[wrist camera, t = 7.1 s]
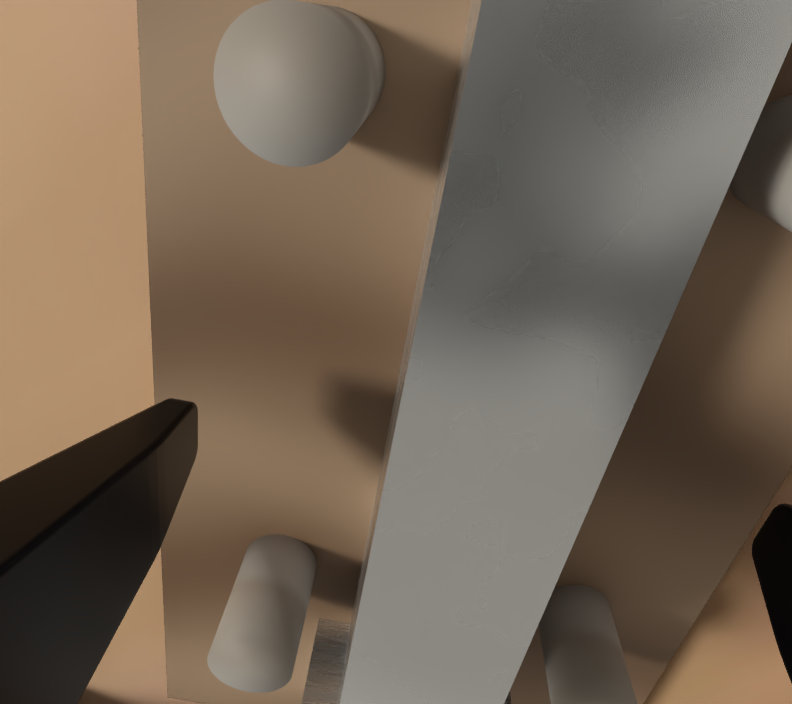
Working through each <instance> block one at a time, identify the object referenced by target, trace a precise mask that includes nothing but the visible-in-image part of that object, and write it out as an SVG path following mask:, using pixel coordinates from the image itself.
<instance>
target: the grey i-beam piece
mask: <svg viewBox="0 0 792 704" xmlns="http://www.w3.org/2000/svg"><path fill="white" fill-rule="evenodd" d="M791 43H792V0H472V3H471V8H470V13H469V18H468V23H467V28H466V33H465V38H464V44H463V49H462V54H461V59H460V64H459V69H458V74H457V79H456V85H455V90H454V95H453V100H452V105H451V110H450V115H449V120H448V126H447V131H446V136H445V141H444V146H443V151H442V156H441V161H440V167H439V172H438V177H437V182H436V187H435V192H434V197H433V202H432V208H431V213H430V218H429V223H428V228H427V233H426V238H425V243H424V248H423V254H422V259H421V264H420V269H419V274H418V279H417V284H416V289H415V295H414V300H413V305H412V310H411V315H410V320H409V325H408V330H407V336H406V341H405V346H404V351H403V356H402V361H401V366H400V371H399V377H398V382H397V387H396V392H395V397H394V402H393V407H392V412H391V418H390V423H389V428H388V433H387V438H386V443H385V448H384V453H383V459H382V464H381V469H380V474H379V479H378V484H377V489H376V494H375V500H374V505H373V510H372V515H371V520H370V525H369V530H368V535H367V541H366V546H365V551H364V556H363V561H362V566H361V571H360V576H359V582H358V587H357V592H356V597H355V602H354V607H353V612H352V617H351V623H345V622H339V621H333V620H327V619H321V618H319V621H318V626H317V630H316V635H315V640H314V645H313V650H312V655H311V660H310V664H309V669H308V674H307V679H306V684H305V689H304V694H303V698H302V703H301V704H511V695H510V689H511V687H512V684H513V682H514V680H515V677H516V675H517V673H518V670H519V668H520V666H521V664H522V661H523V659H524V657H525V654H526V652H527V650H528V647H529V645H530V643H531V641H532V638H533V636H534V634H535V631H536V629H537V627H538V624H539V622H540V620H541V618H542V615H543V613H544V611H545V608H546V606H547V604H548V601H549V599H550V597H551V595H552V592H553V590H554V588H555V585H556V583H557V581H558V579H559V576H560V574H561V572H562V569H563V567H564V565H565V562H566V560H567V558H568V556H569V553H570V551H571V549H572V546H573V544H574V542H575V539H576V537H577V535H578V533H579V530H580V528H581V526H582V523H583V521H584V519H585V516H586V514H587V512H588V510H589V507H590V505H591V503H592V500H593V498H594V496H595V493H596V491H597V489H598V487H599V484H600V482H601V480H602V477H603V475H604V473H605V470H606V468H607V466H608V464H609V461H610V459H611V457H612V454H613V452H614V450H615V448H616V445H617V443H618V441H619V438H620V436H621V434H622V431H623V429H624V427H625V425H626V422H627V420H628V418H629V415H630V413H631V411H632V408H633V406H634V404H635V402H636V399H637V397H638V395H639V392H640V390H641V388H642V385H643V383H644V381H645V379H646V376H647V374H648V372H649V369H650V367H651V365H652V362H653V360H654V358H655V356H656V353H657V351H658V349H659V346H660V344H661V342H662V339H663V337H664V335H665V333H666V330H667V328H668V326H669V323H670V321H671V319H672V317H673V314H674V312H675V310H676V307H677V305H678V303H679V300H680V298H681V296H682V294H683V291H684V289H685V287H686V284H687V282H688V280H689V277H690V275H691V273H692V271H693V268H694V266H695V264H696V261H697V259H698V257H699V254H700V252H701V250H702V248H703V245H704V243H705V241H706V238H707V236H708V234H709V231H710V229H711V227H712V225H713V222H714V220H715V218H716V215H717V213H718V211H719V208H720V206H721V204H722V202H723V199H724V197H725V195H726V192H727V190H728V188H729V186H730V183H731V181H732V179H733V176H734V174H735V172H736V169H737V167H738V165H739V163H740V160H741V158H742V156H743V153H744V151H745V149H746V146H747V144H748V142H749V140H750V137H751V135H752V133H753V130H754V128H755V126H756V123H757V121H758V119H759V117H760V114H761V112H762V110H763V107H764V105H765V103H766V100H767V98H768V96H769V94H770V91H771V89H772V87H773V84H774V82H775V80H776V77H777V75H778V73H779V71H780V68H781V66H782V64H783V61H784V59H785V57H786V55H787V52H788V50H789V48H790V45H791Z"/></svg>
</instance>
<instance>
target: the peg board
mask: <svg viewBox="0 0 792 704" xmlns="http://www.w3.org/2000/svg"><path fill="white" fill-rule="evenodd" d="M471 3H472V0H137V15H138V38H139V60H140V83H141V105H142V128H143V151H144V173H145V196H146V219H147V241H148V264H149V286H150V309H151V332H152V354H153V377H154V400H155V404H157V403H160V402H162V401H164V400H166V399H169V398H174V399H180V400H185V401H191V402H194V403H195V404H196V405H197V409H198V450H197V455H196V459H195V462H194V464H193V467H192V469H191V472H190V475H189V477H188V480H187V482H186V485H185V487H184V490H183V492H182V495H181V497H180V500H179V503H178V505H177V508H176V510H175V513H174V515H173V518H172V520H171V523H170V526H169V528H168V531H167V533H166V536H165V538H164V540H163V543H162V545H161V558H162V581H163V603H164V626H165V649H166V671H167V694H168V698H174V699H180V700H186V701H192V702H198V703H204V704H301V703H302V698H303V694H304V689H305V684H306V679H307V674H308V669H309V664H310V660H311V655H312V650H313V645H314V640H315V635H316V630H317V626H318V621H319V618H321V619H327V620H333V621H339V622H345V623H351V617H352V612H353V607H354V602H355V597H356V592H357V587H358V582H359V576H360V571H361V566H362V561H363V556H364V551H365V546H366V541H367V535H368V530H369V525H370V520H371V515H372V510H373V505H374V500H375V494H376V489H377V484H378V479H379V474H380V469H381V464H382V459H383V453H384V448H385V443H386V438H387V433H388V428H389V423H390V418H391V412H392V407H393V402H394V397H395V392H396V387H397V382H398V377H399V371H400V366H401V361H402V356H403V351H404V346H405V341H406V336H407V330H408V325H409V320H410V315H411V310H412V305H413V300H414V295H415V289H416V284H417V279H418V274H419V269H420V264H421V259H422V254H423V248H424V243H425V238H426V233H427V228H428V223H429V218H430V213H431V208H432V202H433V197H434V192H435V187H436V182H437V177H438V172H439V167H440V161H441V156H442V151H443V146H444V141H445V136H446V131H447V126H448V120H449V115H450V110H451V105H452V100H453V95H454V90H455V85H456V79H457V74H458V69H459V64H460V59H461V54H462V49H463V44H464V38H465V33H466V28H467V23H468V18H469V13H470V8H471ZM791 468H792V43H791V45H790V48H789V50H788V52H787V55H786V57H785V59H784V61H783V64H782V66H781V68H780V71H779V73H778V75H777V77H776V80H775V82H774V84H773V87H772V89H771V91H770V94H769V96H768V98H767V100H766V103H765V105H764V107H763V110H762V112H761V114H760V117H759V119H758V121H757V123H756V126H755V128H754V130H753V133H752V135H751V137H750V140H749V142H748V144H747V146H746V149H745V151H744V153H743V156H742V158H741V160H740V163H739V165H738V167H737V169H736V172H735V174H734V176H733V179H732V181H731V183H730V186H729V188H728V190H727V192H726V195H725V197H724V199H723V202H722V204H721V206H720V208H719V211H718V213H717V215H716V218H715V220H714V222H713V225H712V227H711V229H710V231H709V234H708V236H707V238H706V241H705V243H704V245H703V248H702V250H701V252H700V254H699V257H698V259H697V261H696V264H695V266H694V268H693V271H692V273H691V275H690V277H689V280H688V282H687V284H686V287H685V289H684V291H683V294H682V296H681V298H680V300H679V303H678V305H677V307H676V310H675V312H674V314H673V317H672V319H671V321H670V323H669V326H668V328H667V330H666V333H665V335H664V337H663V339H662V342H661V344H660V346H659V349H658V351H657V353H656V356H655V358H654V360H653V362H652V365H651V367H650V369H649V372H648V374H647V376H646V379H645V381H644V383H643V385H642V388H641V390H640V392H639V395H638V397H637V399H636V402H635V404H634V406H633V408H632V411H631V413H630V415H629V418H628V420H627V422H626V425H625V427H624V429H623V431H622V434H621V436H620V438H619V441H618V443H617V445H616V448H615V450H614V452H613V454H612V457H611V459H610V461H609V464H608V466H607V468H606V470H605V473H604V475H603V477H602V480H601V482H600V484H599V487H598V489H597V491H596V493H595V496H594V498H593V500H592V503H591V505H590V507H589V510H588V512H587V514H586V516H585V519H584V521H583V523H582V526H581V528H580V530H579V533H578V535H577V537H576V539H575V542H574V544H573V546H572V549H571V551H570V553H569V556H568V558H567V560H566V562H565V565H564V567H563V569H562V572H561V574H560V576H559V579H558V581H557V583H556V585H555V588H554V590H553V592H552V595H551V597H550V599H549V601H548V604H547V606H546V608H545V611H544V613H543V615H542V618H541V620H540V622H539V624H538V627H537V629H536V631H535V634H534V636H533V638H532V641H531V643H530V645H529V647H528V650H527V652H526V654H525V657H524V659H523V661H522V664H521V666H520V668H519V670H518V673H517V675H516V677H515V680H514V682H513V684H512V687H511V689H510V695H511V704H643V703H644V702H645V700H646V698H647V697H648V695H649V694H650V692H651V690H652V689H653V687H654V686H655V684H656V682H657V681H658V679H659V678H660V676H661V674H662V673H663V671H664V670H665V668H666V667H667V665H668V663H669V662H670V660H671V659H672V657H673V655H674V654H675V652H676V651H677V649H678V647H679V646H680V644H681V643H682V641H683V639H684V638H685V636H686V635H687V633H688V632H689V630H690V628H691V627H692V625H693V624H694V622H695V620H696V619H697V617H698V616H699V614H700V612H701V611H702V609H703V608H704V606H705V605H706V603H707V601H708V600H709V598H710V597H711V595H712V593H713V592H714V590H715V589H716V587H717V585H718V584H719V582H720V581H721V579H722V577H723V576H724V574H725V573H726V571H727V570H728V568H729V566H730V565H731V563H732V562H733V560H734V558H735V557H736V555H737V554H738V552H739V550H740V549H741V547H742V546H743V544H744V542H745V541H746V539H747V538H748V536H749V535H750V533H751V531H752V530H753V528H754V527H755V525H756V523H757V522H758V520H759V519H760V517H761V515H762V514H763V512H764V511H765V509H766V507H767V506H768V504H769V503H770V501H771V500H772V498H773V496H774V495H775V493H776V492H777V490H778V488H779V487H780V485H781V484H782V482H783V480H784V479H785V477H786V476H787V474H788V473H789V471H790V469H791Z"/></svg>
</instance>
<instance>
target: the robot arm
mask: <svg viewBox="0 0 792 704" xmlns="http://www.w3.org/2000/svg"><path fill="white" fill-rule="evenodd" d="M197 450H198V409H197V405H196V404H195V403H194V402H191V401H185V400H180V399H174V398H169V399H166V400H164V401H162V402H160V403H157V404H155V405H153V406H151V407H149V408H147V409H145V410H143V411H141V412H139V413H137V414H135V415H133V416H131V417H129V418H127V419H125V420H123V421H121V422H119V423H117V424H115V425H113V426H111V427H109V428H107V429H105V430H103V431H101V432H99V433H97V434H95V435H93V436H91V437H89V438H87V439H85V440H83V441H81V442H79V443H77V444H75V445H73V446H71V447H69V448H67V449H65V450H63V451H61V452H59V453H57V454H55V455H53V456H51V457H49V458H47V459H45V460H43V461H41V462H39V463H37V464H35V465H33V466H31V467H29V468H27V469H24V470H22V471H20V472H18V473H16V474H14V475H12V476H10V477H8V478H6V479H4V480H2V481H0V704H78V702H79V700H80V698H81V696H82V694H83V692H84V691H85V689H86V687H87V685H88V683H89V681H90V679H91V678H92V676H93V674H94V672H95V670H96V668H97V666H98V664H99V663H100V661H101V659H102V657H103V655H104V653H105V651H106V649H107V648H108V646H109V644H110V642H111V640H112V638H113V636H114V635H115V633H116V631H117V629H118V627H119V625H120V623H121V621H122V620H123V618H124V616H125V614H126V612H127V610H128V608H129V606H130V605H131V603H132V601H133V599H134V597H135V595H136V593H137V592H138V590H139V588H140V586H141V584H142V582H143V580H144V578H145V577H146V575H147V573H148V571H149V569H150V567H151V565H152V564H153V562H154V560H155V558H156V556H157V554H158V552H159V550H160V548H161V545H162V543H163V540H164V538H165V536H166V533H167V531H168V528H169V526H170V523H171V520H172V518H173V515H174V513H175V510H176V508H177V505H178V503H179V500H180V497H181V495H182V492H183V490H184V487H185V485H186V482H187V480H188V477H189V475H190V472H191V469H192V467H193V464H194V462H195V459H196V455H197ZM752 557H753V561H754V564H755V568H756V571H757V575H758V578H759V582H760V585H761V589H762V593H763V596H764V600H765V603H766V607H767V610H768V614H769V617H770V621H771V624H772V628H773V632H774V635H775V638H776V641H777V645H778V648H779V651H780V654H781V657H782V659H783V662H784V665H785V668H786V670H787V673H788V675H789V678H790V680H791V683H792V505H790V504H780V505H778V506H777V507H775V508H774V509H773V510H772V512H771V514H770V515H769V517H768V518H767V520H766V521H765V523H764V525H763V526H762V528H761V529H760V531H759V532H758V534H757V536H756V537H755V539H754V541H753V544H752Z"/></svg>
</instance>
